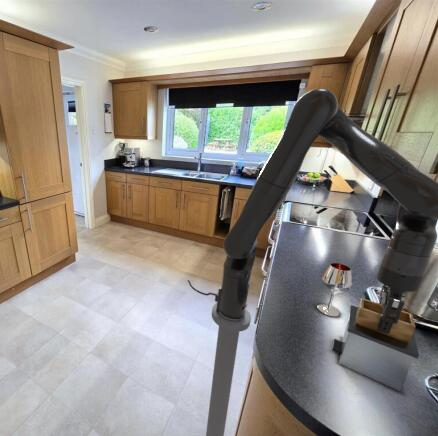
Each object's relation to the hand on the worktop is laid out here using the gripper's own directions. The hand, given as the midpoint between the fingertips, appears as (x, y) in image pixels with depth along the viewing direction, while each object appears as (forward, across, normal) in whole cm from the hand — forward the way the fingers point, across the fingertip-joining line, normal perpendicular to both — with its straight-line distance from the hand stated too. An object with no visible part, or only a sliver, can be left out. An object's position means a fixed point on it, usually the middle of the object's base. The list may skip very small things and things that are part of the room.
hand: (382, 322), depth 64 cm
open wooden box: (+1, 0, 0) cm, 1 cm away
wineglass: (+14, -19, -11) cm, 26 cm away
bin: (+13, 0, 0) cm, 13 cm away
